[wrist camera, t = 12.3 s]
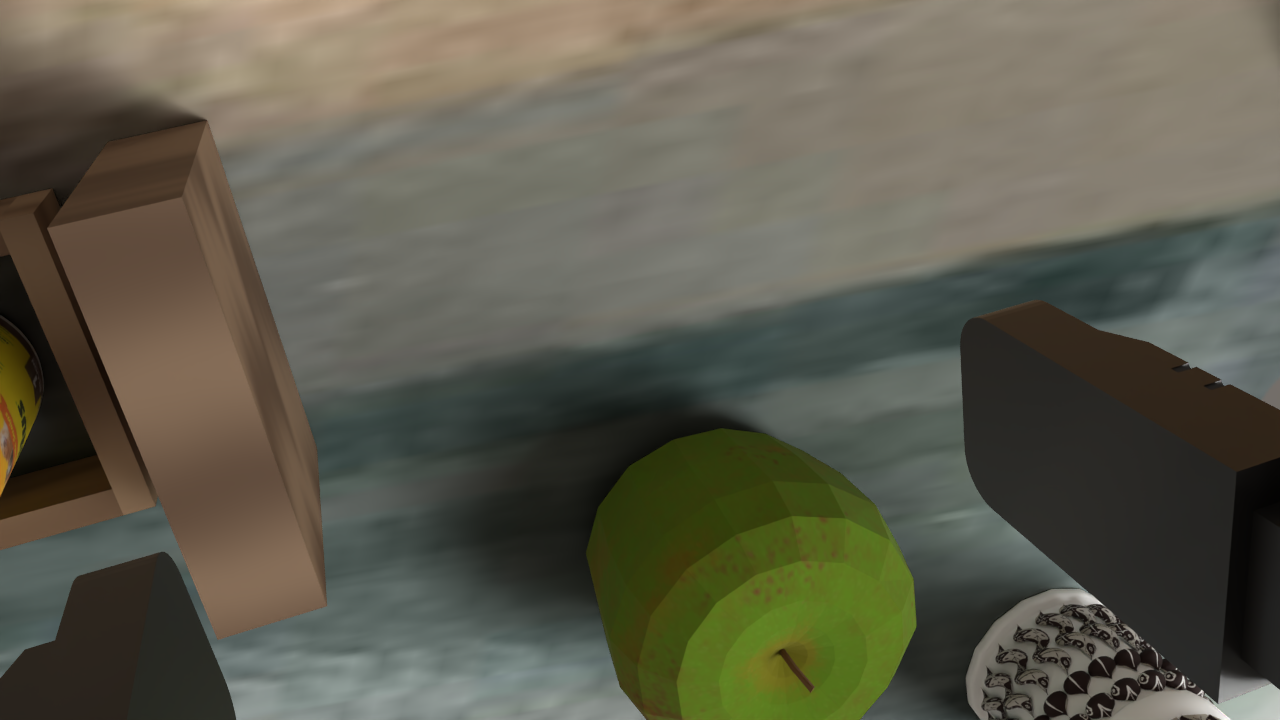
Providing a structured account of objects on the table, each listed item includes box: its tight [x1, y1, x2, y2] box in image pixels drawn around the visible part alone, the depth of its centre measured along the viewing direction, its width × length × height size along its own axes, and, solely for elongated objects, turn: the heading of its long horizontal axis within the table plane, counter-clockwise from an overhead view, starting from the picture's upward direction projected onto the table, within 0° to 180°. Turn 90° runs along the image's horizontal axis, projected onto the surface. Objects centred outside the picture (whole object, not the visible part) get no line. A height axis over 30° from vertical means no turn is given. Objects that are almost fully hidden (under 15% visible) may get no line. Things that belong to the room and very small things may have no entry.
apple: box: [586, 428, 917, 720], centre depth 41 cm, size 11×11×11 cm
